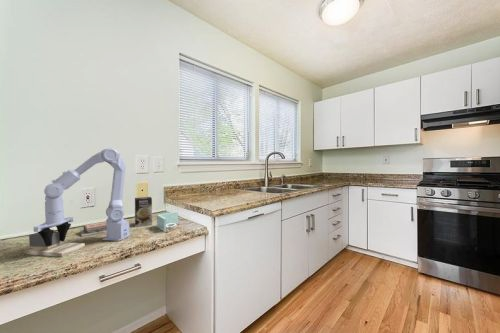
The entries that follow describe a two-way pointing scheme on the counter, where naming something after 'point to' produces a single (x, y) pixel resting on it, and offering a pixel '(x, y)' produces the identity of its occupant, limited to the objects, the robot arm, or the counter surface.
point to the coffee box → (143, 211)
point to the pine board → (56, 249)
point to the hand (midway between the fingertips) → (55, 243)
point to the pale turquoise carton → (167, 221)
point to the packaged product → (94, 229)
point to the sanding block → (38, 241)
